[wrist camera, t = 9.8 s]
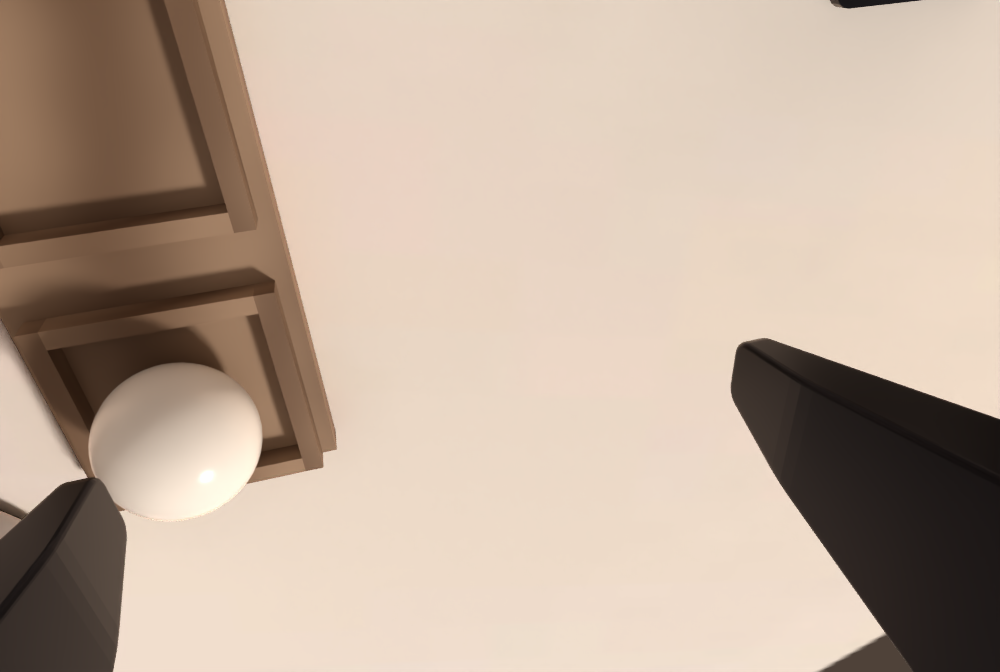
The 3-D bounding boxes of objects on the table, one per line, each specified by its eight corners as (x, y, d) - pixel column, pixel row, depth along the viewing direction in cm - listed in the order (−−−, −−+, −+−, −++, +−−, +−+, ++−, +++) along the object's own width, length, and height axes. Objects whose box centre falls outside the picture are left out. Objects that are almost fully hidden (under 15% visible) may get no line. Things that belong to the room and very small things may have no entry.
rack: (207, -67, 16) (197, -65, 15) (335, 432, 25) (337, 464, 24) (-165, -38, 15) (-216, -33, 14) (106, 479, 24) (93, 516, 22)
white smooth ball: (244, 321, 21) (232, 410, 17) (280, 433, 23) (276, 533, 19) (85, 349, 20) (35, 449, 16) (140, 462, 22) (107, 572, 19)
